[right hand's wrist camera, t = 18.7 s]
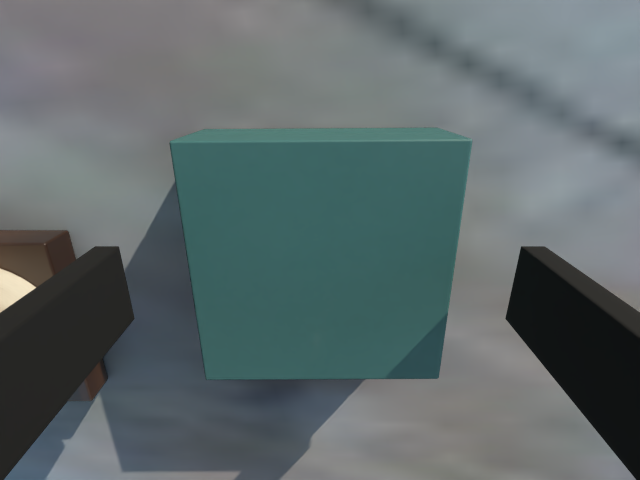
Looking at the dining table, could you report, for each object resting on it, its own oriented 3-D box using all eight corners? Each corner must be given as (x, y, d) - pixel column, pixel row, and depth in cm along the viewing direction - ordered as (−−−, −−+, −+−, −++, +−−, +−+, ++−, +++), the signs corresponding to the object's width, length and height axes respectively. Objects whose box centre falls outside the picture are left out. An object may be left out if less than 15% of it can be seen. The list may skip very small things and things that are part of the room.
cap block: (438, 127, 14) (473, 138, 11) (417, 326, 18) (439, 379, 14) (202, 129, 14) (168, 140, 11) (226, 327, 18) (205, 380, 14)
